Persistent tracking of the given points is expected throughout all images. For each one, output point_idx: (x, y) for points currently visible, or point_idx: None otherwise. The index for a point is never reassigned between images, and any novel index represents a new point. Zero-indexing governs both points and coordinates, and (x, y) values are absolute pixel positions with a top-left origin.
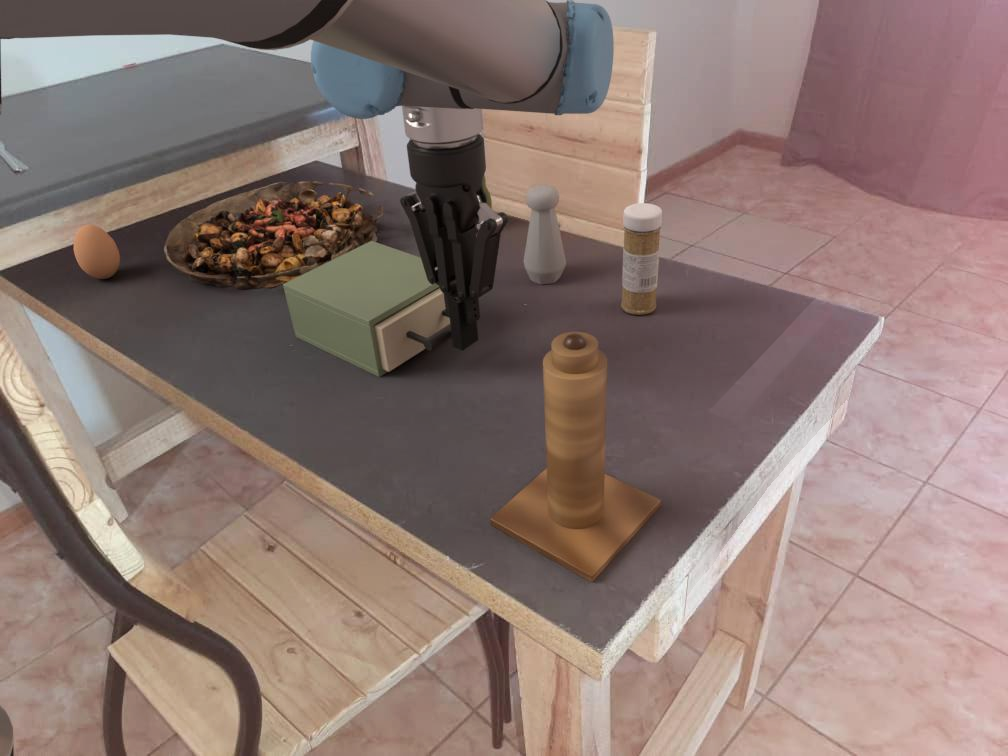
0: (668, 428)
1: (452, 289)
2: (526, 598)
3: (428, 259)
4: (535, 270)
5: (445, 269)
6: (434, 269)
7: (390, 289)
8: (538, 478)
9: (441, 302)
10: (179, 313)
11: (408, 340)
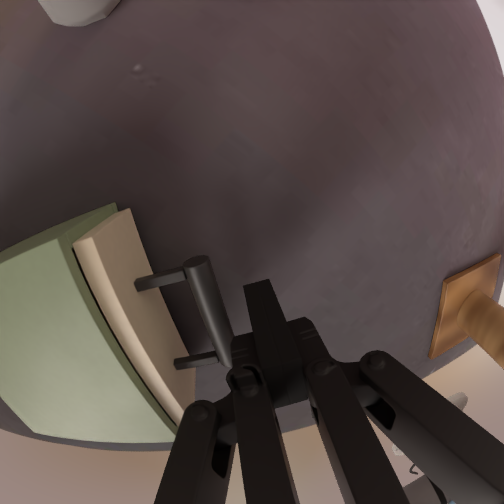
0: (480, 171)
1: (273, 405)
2: (459, 355)
3: (225, 493)
4: (93, 12)
5: (290, 469)
6: (228, 461)
7: (85, 386)
8: (443, 316)
9: (130, 301)
10: (5, 403)
11: (176, 356)
